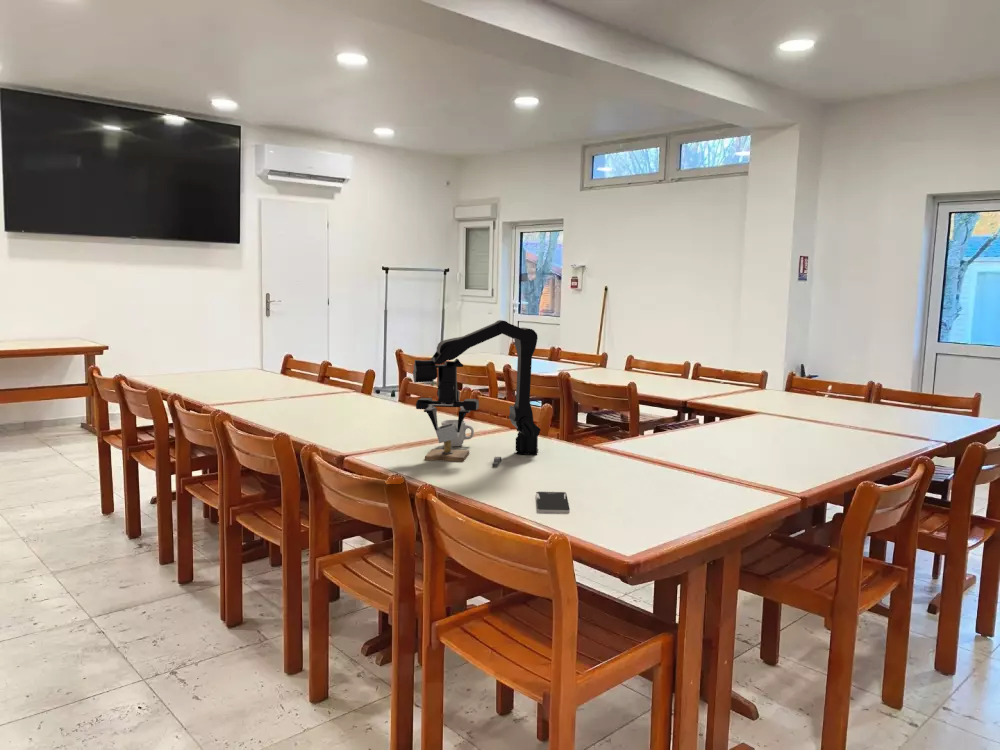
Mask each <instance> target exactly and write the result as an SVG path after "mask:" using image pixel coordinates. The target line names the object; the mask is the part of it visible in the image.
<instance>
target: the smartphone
mask: <svg viewBox="0 0 1000 750" xmlns="http://www.w3.org/2000/svg"><path fill="white" fill-rule="evenodd" d="M535 501H536V502H535V503H536V509H537V510H536V511H537V513H539V514H542V513H544V514H569V513H570V510H571V509H570V504H569V500H568V495H567V492H566V491H548V490H547V491H546V490H545V491H543V490H542V491H541V490H540V491H538V490H537V491H535Z"/></svg>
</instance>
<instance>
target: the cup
mask: <svg viewBox="0 0 1000 750" xmlns="http://www.w3.org/2000/svg"><path fill="white" fill-rule="evenodd" d="M454 422H457V425H458V419H445V420H442V421H441V426H444V425H447V424H451V423H454ZM467 429H469V430H470V435H469V436H468V435H467V434H466V431H467ZM474 434H475V433H474V427H473V426H471V425H469V424H466V421H465V420H463V423H462V426H461V429H460V435H459V437H458V438H456V439H453V440H451V448H452V447H460V446H462V445H463V444H464V441H466V440H471V439H472V438H473V436H474Z"/></svg>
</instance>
